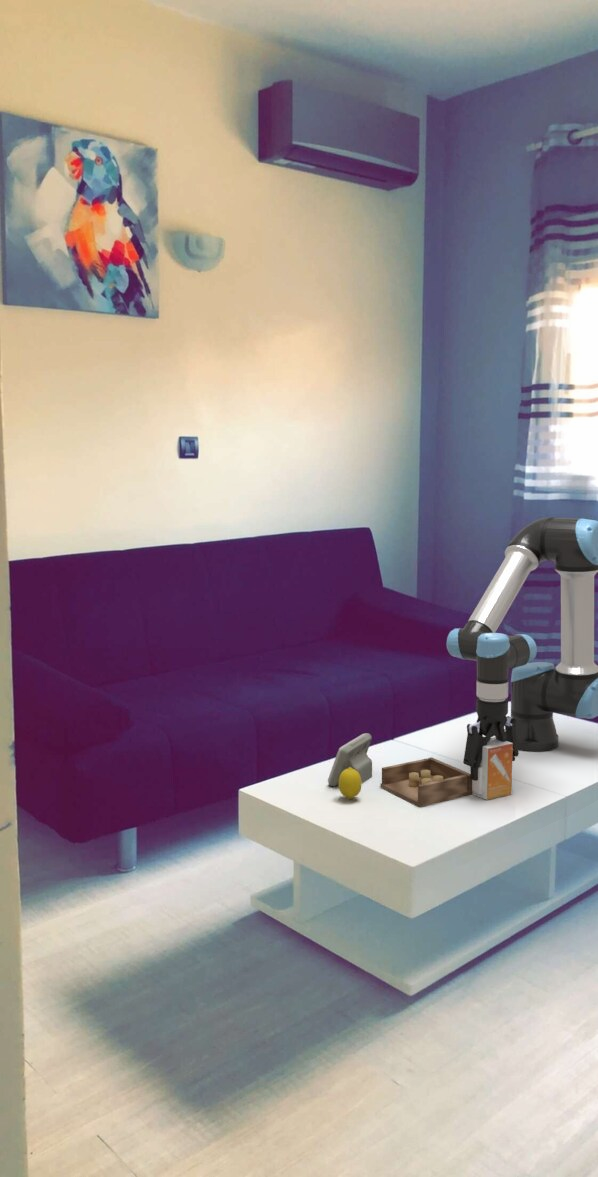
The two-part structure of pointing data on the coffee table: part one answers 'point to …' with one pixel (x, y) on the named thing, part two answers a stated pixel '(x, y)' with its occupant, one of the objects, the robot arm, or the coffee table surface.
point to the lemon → (350, 783)
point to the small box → (496, 769)
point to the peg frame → (426, 781)
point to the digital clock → (353, 759)
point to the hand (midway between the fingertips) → (490, 788)
